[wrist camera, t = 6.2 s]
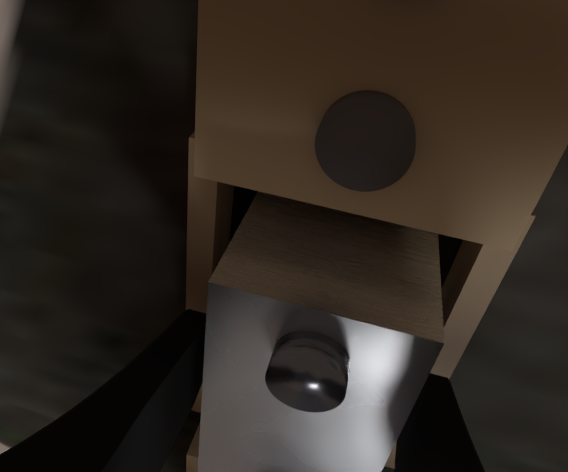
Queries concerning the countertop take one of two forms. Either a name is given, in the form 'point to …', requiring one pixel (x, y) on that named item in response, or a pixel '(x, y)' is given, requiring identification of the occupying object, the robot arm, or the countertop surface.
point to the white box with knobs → (316, 339)
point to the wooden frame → (381, 128)
